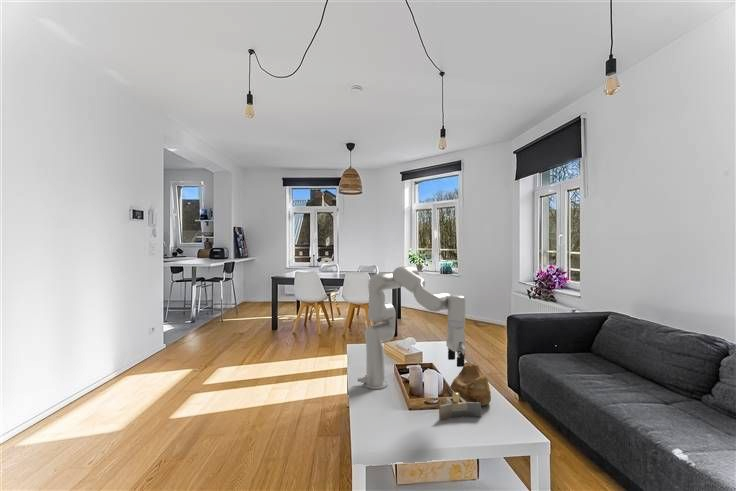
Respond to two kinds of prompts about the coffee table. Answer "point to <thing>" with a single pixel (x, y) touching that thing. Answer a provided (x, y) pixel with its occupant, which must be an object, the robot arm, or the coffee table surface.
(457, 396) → the hinge pin
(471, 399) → the rough brown rock
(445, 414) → the hinge
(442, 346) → the coffee table surface
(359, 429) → the coffee table surface
